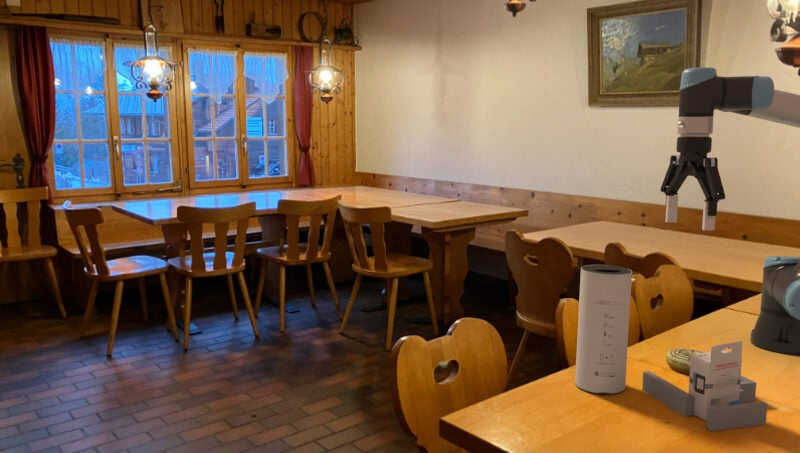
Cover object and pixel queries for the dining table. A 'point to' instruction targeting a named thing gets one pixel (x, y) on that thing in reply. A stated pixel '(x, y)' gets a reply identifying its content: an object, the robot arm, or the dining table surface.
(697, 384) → the ink box
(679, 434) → the dining table surface
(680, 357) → the decorated donut
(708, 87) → the robot arm
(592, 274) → the speaker
